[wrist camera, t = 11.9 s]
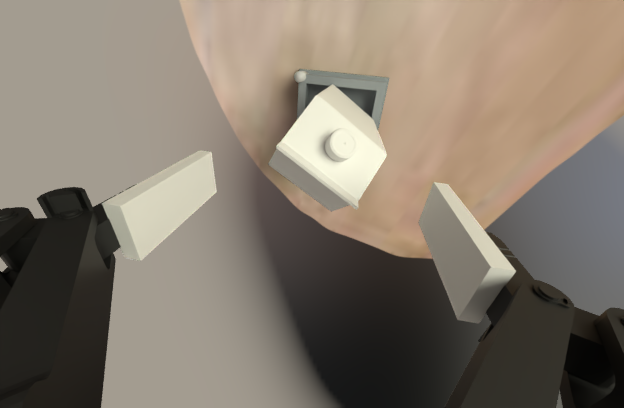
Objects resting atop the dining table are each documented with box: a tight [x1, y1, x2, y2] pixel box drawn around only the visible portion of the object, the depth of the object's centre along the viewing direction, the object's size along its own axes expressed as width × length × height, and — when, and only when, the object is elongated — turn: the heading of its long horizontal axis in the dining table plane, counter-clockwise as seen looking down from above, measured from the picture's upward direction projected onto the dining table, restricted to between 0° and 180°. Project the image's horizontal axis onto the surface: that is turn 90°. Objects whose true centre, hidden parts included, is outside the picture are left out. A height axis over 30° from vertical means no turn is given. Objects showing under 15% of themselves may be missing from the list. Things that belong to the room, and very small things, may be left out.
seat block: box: [294, 69, 389, 130], centre depth 34 cm, size 12×12×5 cm
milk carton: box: [268, 84, 387, 211], centre depth 25 cm, size 7×7×19 cm
